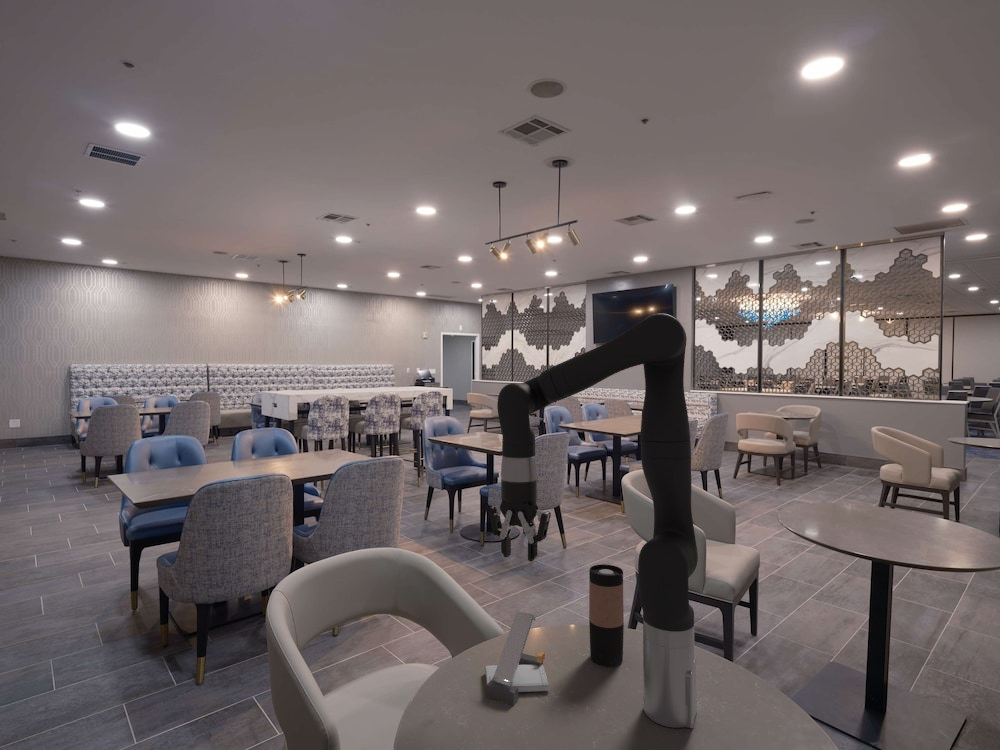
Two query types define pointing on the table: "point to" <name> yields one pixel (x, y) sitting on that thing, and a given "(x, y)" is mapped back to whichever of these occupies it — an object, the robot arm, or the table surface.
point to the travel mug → (606, 615)
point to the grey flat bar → (513, 649)
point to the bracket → (511, 693)
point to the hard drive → (525, 677)
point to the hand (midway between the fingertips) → (519, 557)
